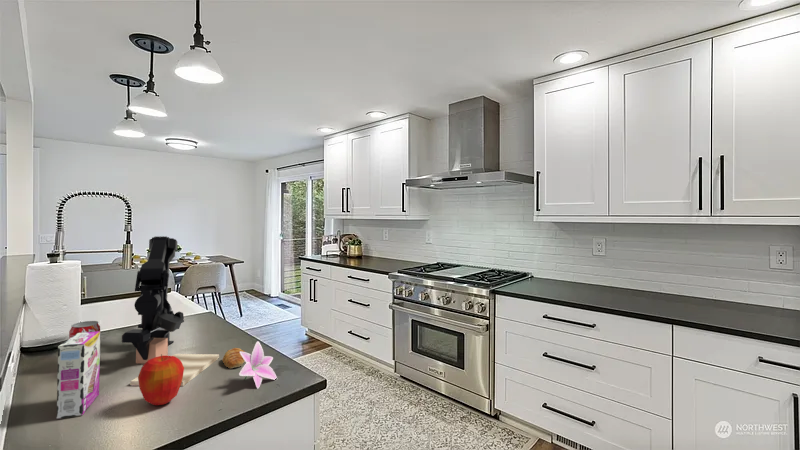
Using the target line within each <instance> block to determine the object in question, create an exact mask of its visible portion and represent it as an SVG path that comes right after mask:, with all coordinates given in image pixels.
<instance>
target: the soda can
mask: <svg viewBox="0 0 800 450" xmlns="http://www.w3.org/2000/svg"><path fill="white" fill-rule="evenodd" d="M96 331H100V332H101V326H100V325H99V321H97V320H87V321H80V322H76V323H73V324H71V327H70V329H69V330H68V333H69V334H68V336H69V338H68V339H70V338H71V337H73V336H74V335H76V334H77V333H83V332H96ZM101 356H102V355H101V352H100V361H101V359H102V357H101Z"/></svg>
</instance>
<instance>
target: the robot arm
mask: <svg viewBox="0 0 800 450" xmlns="http://www.w3.org/2000/svg"><path fill="white" fill-rule="evenodd" d="M148 242H149V243H148V250H149V256H148V259H147V261H145V262H143V263H142V264H141V266H140V269H139V270H138V271H137V272H136V273H137V274H136V280H135V285H134V286H135V287H134V292H140V295H139V296H138V297H137V298H136V299H135V302H134V309H135V311H136V312H137V315H138V316H141V318H140V321H141V323H140V324H139V323H138V324H137V329H136V328H135V329H134V328H133V329H130V330H128V331H125V332H124V333H123V334H122V335H121V342H122V344H123V343H125V344H126V343H131V344H132V346H134V349H135V350H136V349H137V351H138V352H139V354H140V355H141V357H142V359H143V360H147V359H148V354H149V344H150V342H151V341H152V340H153V339H154V338H168V346H170V345H172V344H173V343H174V342H175V340H170V333H173V332H175V331H176V330H179V329H180V327H181V325H182V324H183V323H184V322H185V320H184V312H182V311H177V312H174V310H172V306H171V304H170V302H169V301H168V293H169V292H168V291H169V280H170V264H171V262H172V260H173V259H174V257H176V251H178V241H177V239H176V238H173V237H172V238H171V237H169V236H167V235H166V236H163V235H161V236H159V235H157V236H153V237H151V239H149V240H148Z"/></svg>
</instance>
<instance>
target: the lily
mask: <svg viewBox="0 0 800 450" xmlns="http://www.w3.org/2000/svg"><path fill="white" fill-rule="evenodd" d="M240 354H241V356H242V357H243V359H244V360H245V363H244V364H243V366H242V368H241V369H240V372H238V375H239V376H240V377H244V379H245V380H246V379H247V377H252V378H253V381H254V383H255V387H256V389H259V388H260V386H261V385H262V382H263V378H265V379H269V380H274V381H276V380H275V379H276V378H277V379H278V376H277V375H276V372H275V370H274V369H273V368H272V366H270V364H271V363H272V361H273V360H274V357H273V356H271V355H265V352H264V349H263V347H262V345H261V343H260V341H256V342H255V344H254V347H253V350H252V351H251V353H249V352H246V351H244V352H242V351H240Z"/></svg>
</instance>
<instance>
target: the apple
mask: <svg viewBox="0 0 800 450" xmlns="http://www.w3.org/2000/svg"><path fill="white" fill-rule="evenodd" d="M183 373H184V367H183V364H182V362H181V361H180V359H178V358H176V357H175V356H173V355H168V356H162V354H161V356H159V357H155V358H152V359H150V360H148V361H147V362H146V363H145V364H142V367H141V369H140V371H139V373H138V376H137V377H138V381H139V386H138V387H139V391H140V392H141V395H142V397H143V399H144V401H145V402H146V403H148V404H151V405H153V406H164V405H167V404H168V403H170V402H171V401H172V400H174V399H175V398H176V397H177V395H178V393H179V392H180V391H179V390H180V388H181V386H180V385H181V383H182V379H183Z"/></svg>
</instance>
